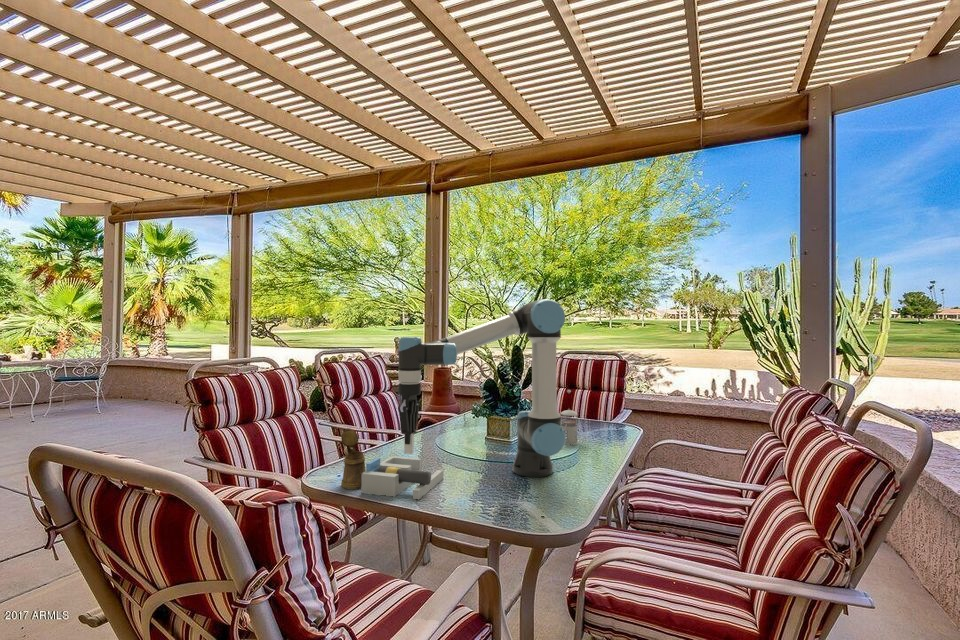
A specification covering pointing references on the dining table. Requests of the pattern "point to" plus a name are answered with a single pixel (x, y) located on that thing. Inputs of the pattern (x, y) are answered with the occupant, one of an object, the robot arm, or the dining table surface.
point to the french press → (570, 427)
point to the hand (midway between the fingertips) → (408, 453)
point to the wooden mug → (352, 461)
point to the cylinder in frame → (395, 477)
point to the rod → (408, 475)
